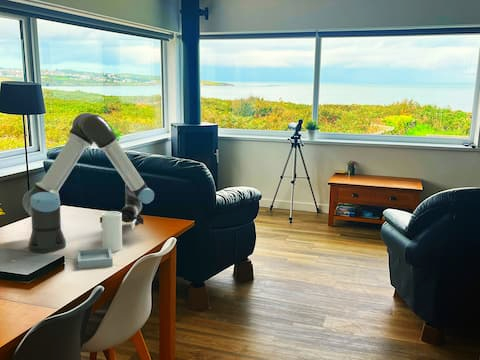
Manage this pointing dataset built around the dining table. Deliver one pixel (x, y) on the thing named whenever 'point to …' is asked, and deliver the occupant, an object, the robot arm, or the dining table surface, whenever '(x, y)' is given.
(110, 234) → the cup
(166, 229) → the dining table surface
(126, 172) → the robot arm
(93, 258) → the dock tray
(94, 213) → the dining table surface
